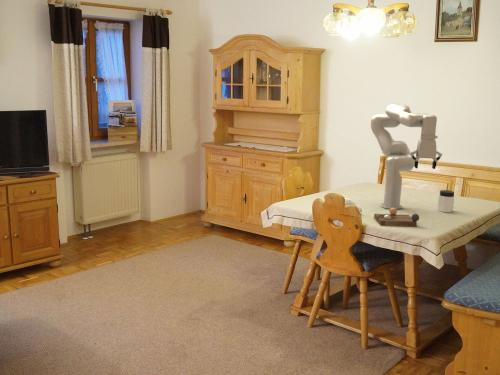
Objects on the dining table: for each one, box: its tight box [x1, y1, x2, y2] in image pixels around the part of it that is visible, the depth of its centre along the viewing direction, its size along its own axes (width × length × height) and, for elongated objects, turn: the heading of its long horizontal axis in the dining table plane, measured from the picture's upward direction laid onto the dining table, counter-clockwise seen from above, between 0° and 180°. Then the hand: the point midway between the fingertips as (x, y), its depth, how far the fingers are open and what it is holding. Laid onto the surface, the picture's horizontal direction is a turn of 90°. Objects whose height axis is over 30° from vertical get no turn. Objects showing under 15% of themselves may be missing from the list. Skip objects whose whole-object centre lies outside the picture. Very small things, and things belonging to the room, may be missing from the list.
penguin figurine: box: [344, 197, 363, 213], centre depth 322 cm, size 6×8×12 cm
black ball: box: [411, 213, 420, 222], centre depth 299 cm, size 4×4×4 cm
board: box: [373, 213, 418, 228], centre depth 306 cm, size 16×19×2 cm
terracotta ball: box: [389, 208, 398, 215], centre depth 312 cm, size 4×4×4 cm
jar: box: [437, 189, 455, 213], centre depth 337 cm, size 9×8×12 cm
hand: (424, 168), depth 313 cm, fingers open, 9 cm apart
